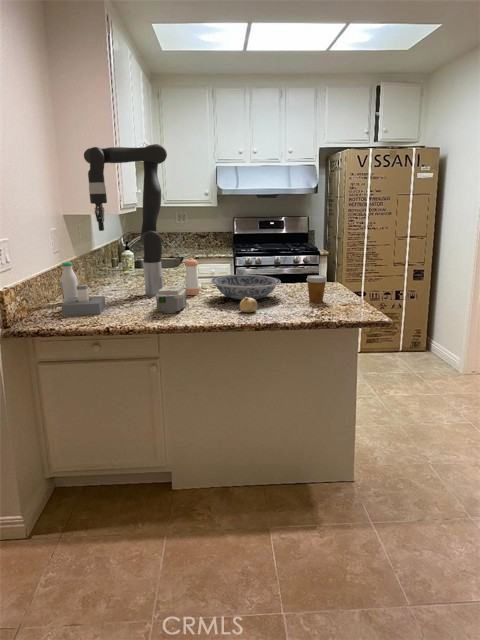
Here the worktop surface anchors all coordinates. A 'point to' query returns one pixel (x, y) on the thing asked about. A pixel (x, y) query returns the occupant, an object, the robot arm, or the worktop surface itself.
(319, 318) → the worktop surface
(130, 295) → the worktop surface
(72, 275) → the milk bottle
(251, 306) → the onion
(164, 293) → the grey box
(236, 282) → the ceramic bowl
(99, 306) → the socket block
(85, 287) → the plug
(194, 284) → the pepper shaker
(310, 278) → the disposable coffee cup
